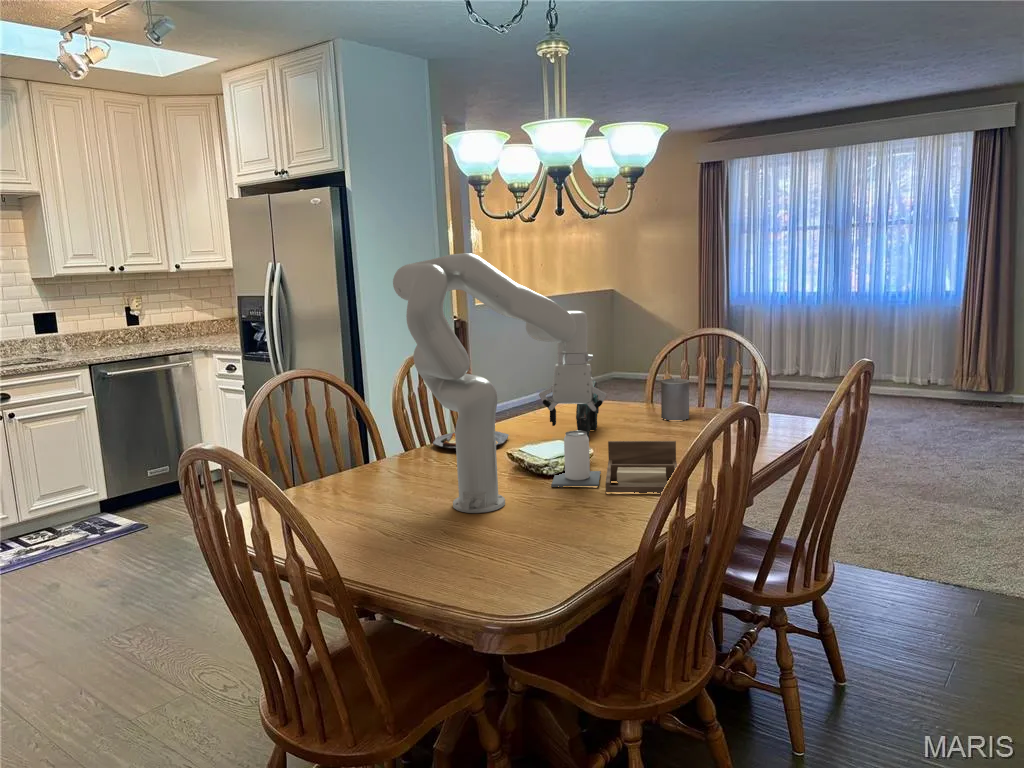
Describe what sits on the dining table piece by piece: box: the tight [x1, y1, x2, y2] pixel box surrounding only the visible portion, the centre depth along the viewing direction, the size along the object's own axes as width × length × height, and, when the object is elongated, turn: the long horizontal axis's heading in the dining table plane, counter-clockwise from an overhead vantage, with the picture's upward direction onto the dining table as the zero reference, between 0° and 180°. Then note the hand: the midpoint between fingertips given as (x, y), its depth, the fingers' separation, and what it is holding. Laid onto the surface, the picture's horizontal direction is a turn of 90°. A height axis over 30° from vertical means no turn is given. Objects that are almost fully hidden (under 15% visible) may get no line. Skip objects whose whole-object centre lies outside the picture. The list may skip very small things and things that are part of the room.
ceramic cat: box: [575, 380, 600, 439], centre depth 247 cm, size 20×6×20 cm, turn 164°
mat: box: [551, 470, 602, 487], centre depth 198 cm, size 12×12×1 cm
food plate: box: [432, 430, 510, 449], centre depth 243 cm, size 25×23×4 cm
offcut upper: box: [617, 467, 666, 483], centre depth 190 cm, size 5×12×2 cm, turn 79°
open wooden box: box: [605, 440, 678, 494], centre depth 194 cm, size 22×18×8 cm
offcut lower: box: [617, 477, 668, 486], centre depth 190 cm, size 5×12×2 cm, turn 80°
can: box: [563, 430, 591, 481], centre depth 196 cm, size 6×6×12 cm
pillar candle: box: [660, 376, 690, 421], centre depth 265 cm, size 10×10×15 cm
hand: (572, 425), depth 195 cm, fingers open, 9 cm apart
